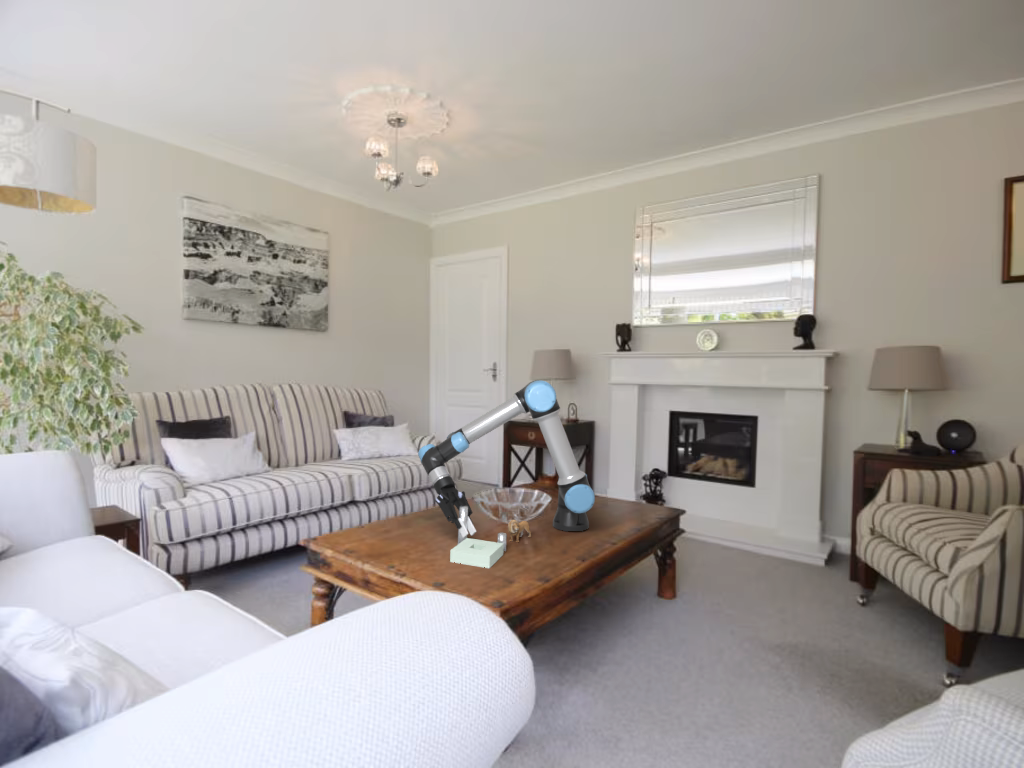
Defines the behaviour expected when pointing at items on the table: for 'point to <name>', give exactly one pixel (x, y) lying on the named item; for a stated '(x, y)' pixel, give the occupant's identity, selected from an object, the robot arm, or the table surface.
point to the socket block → (476, 552)
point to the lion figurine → (518, 529)
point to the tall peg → (464, 517)
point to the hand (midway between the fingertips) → (469, 534)
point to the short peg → (502, 539)
